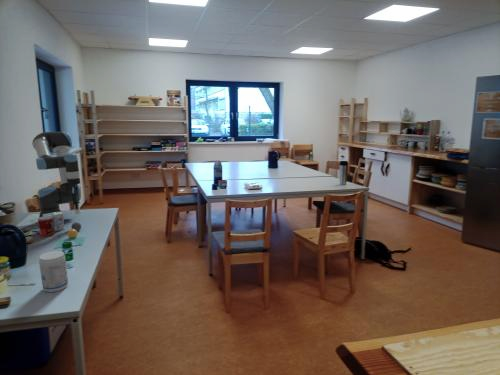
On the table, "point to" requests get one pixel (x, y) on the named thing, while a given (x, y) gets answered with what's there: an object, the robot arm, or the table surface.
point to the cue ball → (76, 226)
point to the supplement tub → (53, 271)
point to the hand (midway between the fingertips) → (77, 213)
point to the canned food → (46, 226)
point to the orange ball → (72, 233)
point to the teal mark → (76, 240)
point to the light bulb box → (57, 220)
